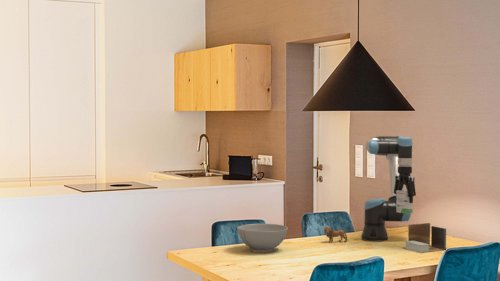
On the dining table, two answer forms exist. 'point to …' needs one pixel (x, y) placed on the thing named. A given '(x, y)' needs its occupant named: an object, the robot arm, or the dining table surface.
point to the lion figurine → (334, 234)
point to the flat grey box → (417, 246)
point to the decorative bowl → (262, 236)
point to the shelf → (421, 235)
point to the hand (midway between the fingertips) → (404, 208)
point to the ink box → (402, 202)
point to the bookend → (438, 237)
